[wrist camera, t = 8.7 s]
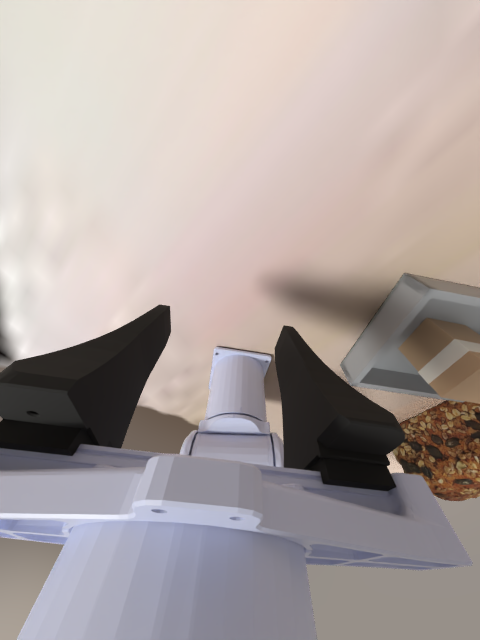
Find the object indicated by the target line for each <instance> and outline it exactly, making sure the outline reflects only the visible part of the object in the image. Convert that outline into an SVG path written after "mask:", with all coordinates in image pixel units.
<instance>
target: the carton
mask: <svg viewBox="0 0 480 640" xmlns="http://www.w3.org/2000/svg"><path fill="white" fill-rule="evenodd" d="M398 349H399V350H400V351H401V353H402V354H403V355H404V356H405V357H406V358H407V359H408V361H409V362H410V363H411V364H412V365H413V366H414V367H415V368H416V370H417V371H418V373H419V374H420V375H421V376H422V378H423V379H424V380H425V381H426V382H427V383H428V384H430V386H431V387H432V388H433V389H434V390H435V391H436V392H437V394H438V395H439V396H440V397H442V398H448V399H454V400H460V401H466V402H472V403H478V404H480V335H479V334H478V333H476V332H475V331H473V330H472V329H470V328H469V327H467V326H466V325H462V324H457V323H452V322H447V321H442V320H437V319H432V318H426V319H425V320H424V321H423V322H422V323H421V324H420V325H419V326H418V327H417V328H416V330H415V331H414V332H413V333H412V334H411V335H410V336H409V337H408V338H407V339H406V340H405V342H404V343H403V344H402V345H401V346H400V347H399V348H398Z"/></svg>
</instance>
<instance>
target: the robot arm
mask: <svg viewBox="0 0 480 640" xmlns="http://www.w3.org/2000/svg"><path fill="white" fill-rule="evenodd" d="M170 333H171V321H170V306H165V305H158V306H157V307H155V308H153V309H152V310H150V311H149V312H147V313H145V314H144V315H142V316H140V317H139V318H137V319H135V320H134V321H132V322H130V323H128V324H126V325H124V326H122V327H120V328H118V329H116V330H114V331H112V332H110V333H108V334H105V335H103V336H101V337H98V338H96V339H93V340H90V341H87V342H85V343H82V344H79V345H76V346H73V347H70V348H66V349H63V350H59V351H56V352H52V353H48V354H44V355H40V356H35V357H31V358H27V359H22V360H18V361H15V362H13V363H12V364H11V365H10V366H8V367H7V368H6V369H4V370H3V371H2V372H1V373H0V416H1V417H2V418H3V420H2V421H1V422H0V537H4V538H12V539H21V540H29V541H38V542H46V543H55V544H63V545H64V547H63V549H62V551H61V553H60V555H59V557H58V558H57V561H56V563H55V565H54V567H53V568H52V570H51V572H50V574H49V576H48V578H47V580H46V582H45V584H44V586H43V588H42V590H41V592H40V594H39V596H38V598H37V600H36V602H35V604H34V606H33V608H32V610H31V612H30V614H29V616H28V618H27V620H26V622H25V624H24V626H23V628H22V630H21V632H20V634H19V635H18V638H17V639H16V640H317V635H316V628H315V621H314V615H313V608H312V601H311V595H310V587H309V582H308V574H307V567H306V564H311V565H333V566H356V567H357V566H358V567H377V568H394V569H408V570H432V569H443V568H453V567H464V566H472V564H473V563H472V561H471V559H470V557H469V555H468V554H467V552H466V550H465V549H464V547H463V545H462V543H461V542H460V540H459V538H458V536H457V535H456V533H455V531H454V530H453V528H452V526H451V525H450V523H449V521H448V519H447V518H446V516H445V514H444V512H443V511H442V509H441V507H440V506H439V504H438V502H437V500H436V499H435V497H434V495H433V494H432V492H431V490H430V488H429V487H428V485H427V483H426V482H425V480H424V478H423V477H422V476H420V475H414V474H406V473H392V474H390V472H389V470H388V468H387V466H389V465H390V462H389V460H388V458H387V456H386V455H387V454H388V453H390V452H391V451H393V450H394V449H396V448H397V447H399V446H400V445H401V444H402V443H403V441H404V440H405V433H404V431H403V429H402V428H401V426H400V424H399V423H398V421H397V420H396V418H395V416H394V415H393V414H392V413H390V412H389V411H387V410H386V409H384V408H382V407H381V406H379V405H377V404H376V403H374V402H372V401H371V400H369V399H368V398H367V397H365V396H364V395H362V394H361V393H359V392H358V391H356V390H355V389H354V388H352V387H351V386H350V385H349V384H347V383H346V382H345V381H344V380H342V379H341V378H340V377H339V376H337V375H336V374H335V373H334V372H333V371H332V370H331V369H330V368H329V367H328V366H327V365H325V364H324V363H323V362H322V360H321V359H320V358H319V357H318V356H317V355H316V354H315V353H314V352H313V351H312V349H311V348H310V347H309V346H308V345H307V344H306V342H305V341H304V340H303V339H302V337H301V336H300V335H299V334H298V332H297V331H296V330H295V329H294V328H293V327H290V326H283V329H282V331H281V334H280V336H279V339H278V342H277V344H276V347H275V364H276V370H277V376H278V381H279V387H280V393H281V400H282V414H283V441H284V445H283V442H282V440H281V439H280V438H279V436H278V435H277V433H270V425H269V422H267V419H266V404H265V390H264V377H265V375H266V372H267V369H268V367H269V364H270V362H271V356H270V355H267V354H260V353H254V352H247V351H241V350H235V349H228V348H222V347H215V349H214V354H213V361H212V368H211V376H210V383H209V390H210V394H209V399H208V404H207V410H206V415H205V420H201V421H200V424H199V430H193V431H192V432H191V433H190V434H189V435H188V437H187V438H186V439H185V441H184V443H183V445H182V448H181V451H180V454H163V453H155V452H146V451H136V450H129V449H121V447H122V444H123V441H124V438H125V435H126V432H127V429H128V427H129V424H130V421H131V419H132V416H133V413H134V411H135V408H136V406H137V403H138V400H139V398H140V395H141V393H142V391H143V388H144V386H145V384H146V381H147V379H148V377H149V375H150V373H151V371H152V370H153V368H154V366H155V364H156V362H157V361H158V359H159V357H160V355H161V353H162V352H163V350H164V348H165V346H166V344H167V341H168V338H169V336H170ZM266 360H268V361H266Z"/></svg>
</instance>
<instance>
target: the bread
mask: <svg viewBox="0 0 480 640" xmlns="http://www.w3.org/2000/svg"><path fill="white" fill-rule="evenodd" d="M400 426H401V428H402V429H403V431H404V433H405V440H404V441H403V443H402V444H401V445H400V446H399V447H397V448H396V449H394V450H393V454H394V455H395V457H396V460H397V461H398V462H399V463H400V464H401V465H402V468H403V470H404V473H406V474H414V475H420V476H422V477H423V478H424V480H425V482H426V483H427V485H428V487H429V488H430V490H431V492H432V494H433V495H434V496H437V497H438V498H441V499H444V500H449V501H463V500H467V499H469V498H477V497H479V496H480V404H478V403H472V402H466V401H465V402H456V401H450V400H446V401H444V402H443V403H442V404H439V405H437V406H435V407H432V408H431V409H429V410H426V411H424V412H423V413H420V414H419V415H418V416H417V417H414V418H410V419H408V420H406V421H404V422H402V423H400Z"/></svg>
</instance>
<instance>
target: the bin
mask: <svg viewBox="0 0 480 640" xmlns="http://www.w3.org/2000/svg"><path fill="white" fill-rule="evenodd" d="M426 318H432V319H437V320H442V321H447V322H452V323H457V324H462V325H466V326H467V327H469V328H470V329H472V330H473V331H475V332H476V333H478V334H479V335H480V288H478V287H473V286H468V285H463V284H458V283H453V282H448V281H442V280H437V279H432V278H427V277H422V276H417V275H412V274H407V273H404V274H403V275H402V277H401V278H400V280H399V281H398V283H397V284H396V285H395V287H394V288H393V290H392V291H391V293H390V294H389V296H388V297H387V298H386V300H385V301H384V303H383V304H382V306H381V307H380V308H379V310H378V311H377V313H376V314H375V316H374V317H373V318H372V320H371V321H370V323H369V324H368V326H367V327H366V328H365V330H364V331H363V333H362V334H361V336H360V337H359V338H358V340H357V341H356V343H355V344H354V346H353V347H352V348H351V350H350V351H349V353H348V354H347V356H346V357H345V358H344V360H343V361H342V363H341V364H340V366H341V368H342V370H343V372H344V374H345V376H346V378H347V380H348V382H349V384H350V386H356V387H363V388H370V389H376V390H383V391H390V392H396V393H403V394H410V395H416V396H423V397H430V398H436V399H443V400H450V401H456V402H465V401H460V400H454V399H448V398H442V397H440V396H439V395H438V394H437V392H436V391H435V390H434V389H433V388H432V387H431V386H430V384H428V383H427V382H426V381H425V380H424V379H423V378H422V376H421V375H420V374H419V373H418V371H417V370H416V368H415V367H414V366H413V365H412V364H411V363H410V362H409V361H408V359H407V358H406V357H405V356H404V355H403V354H402V353H401V351H400V350H399V349H398V348H399V347H400V346H401V345H402V344H403V343H404V342H405V340H406V339H407V338H408V337H409V336H410V335H411V334H412V333H413V332H414V331H415V330H416V328H417V327H418V326H419V325H420V324H421V323H422V322H423V321H424V320H425V319H426Z"/></svg>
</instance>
